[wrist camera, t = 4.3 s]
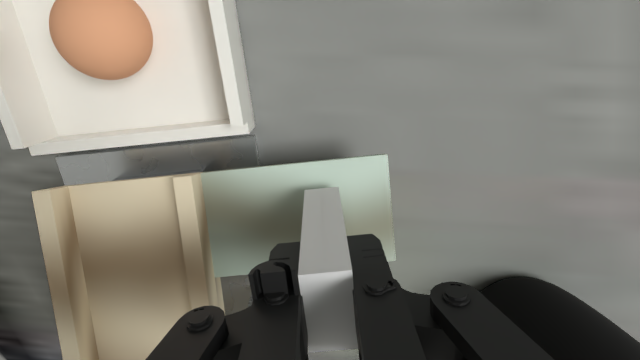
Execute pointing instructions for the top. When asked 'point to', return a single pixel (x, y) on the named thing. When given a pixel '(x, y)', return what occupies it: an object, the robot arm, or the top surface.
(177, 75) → the dish
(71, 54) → the ball
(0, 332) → the top surface
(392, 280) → the robot arm
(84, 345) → the wooden ramp
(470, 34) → the top surface
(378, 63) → the top surface
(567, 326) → the mug
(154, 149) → the stand
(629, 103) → the top surface
